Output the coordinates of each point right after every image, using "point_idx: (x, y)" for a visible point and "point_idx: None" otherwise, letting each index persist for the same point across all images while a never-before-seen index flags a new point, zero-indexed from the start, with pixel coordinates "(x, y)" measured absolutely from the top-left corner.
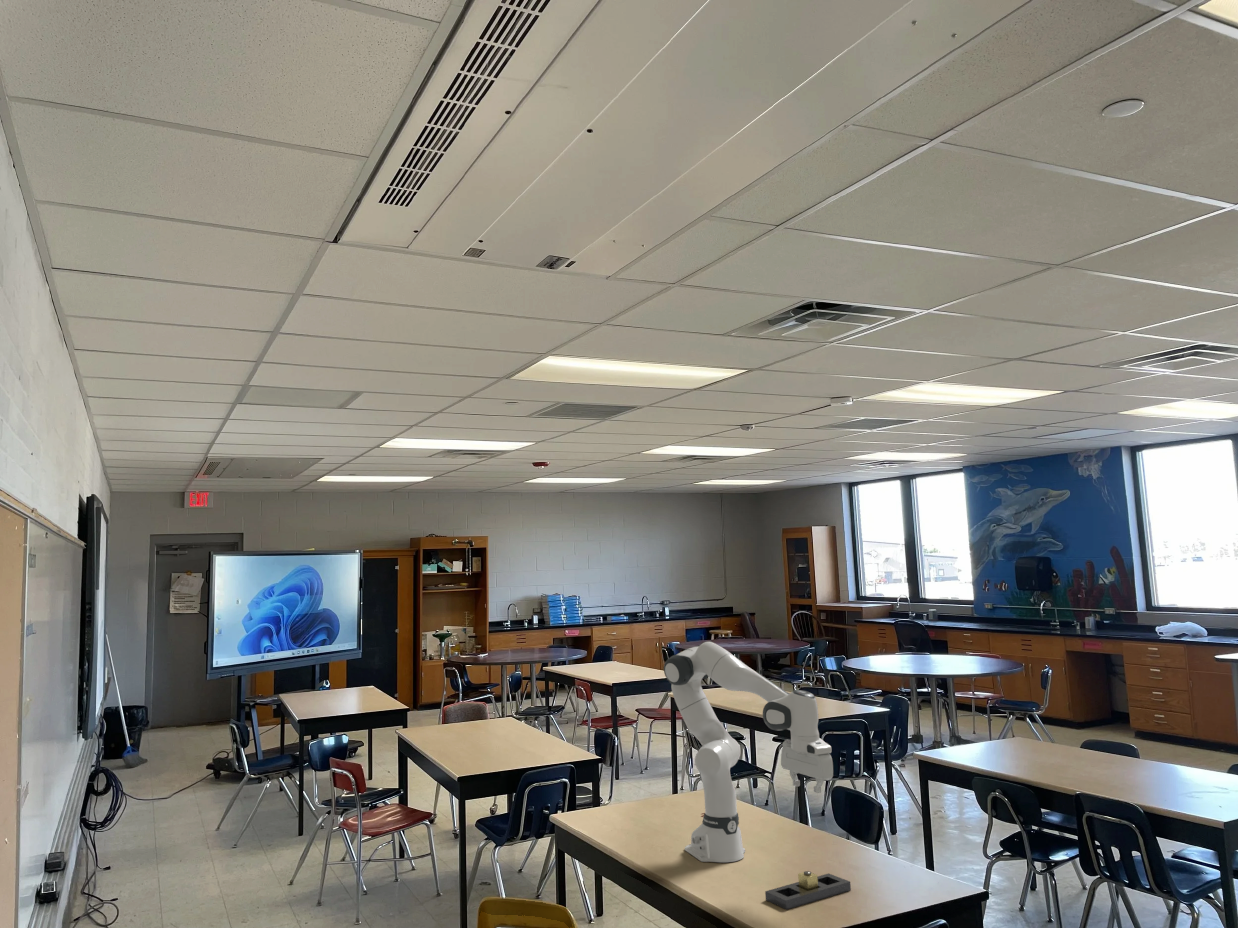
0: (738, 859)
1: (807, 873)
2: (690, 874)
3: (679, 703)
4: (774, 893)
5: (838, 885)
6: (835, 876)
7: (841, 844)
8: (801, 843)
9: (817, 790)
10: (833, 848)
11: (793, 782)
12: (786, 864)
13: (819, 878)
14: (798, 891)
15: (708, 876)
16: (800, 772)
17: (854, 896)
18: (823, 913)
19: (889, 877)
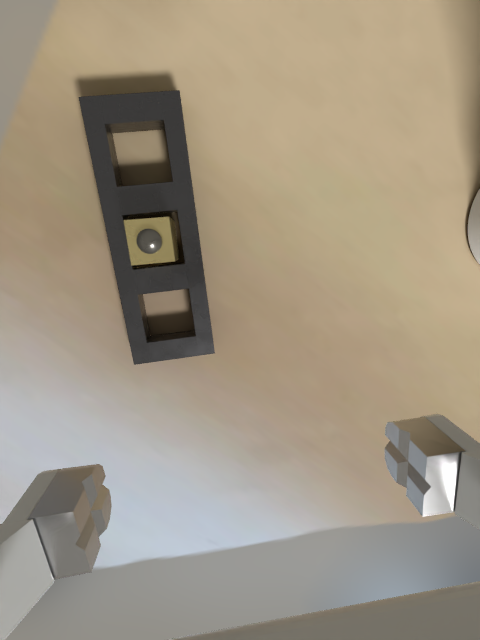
0: (469, 234)
1: (140, 234)
2: (473, 31)
3: None
4: (149, 105)
5: (126, 321)
6: (185, 354)
7: (397, 510)
8: None
9: (30, 492)
10: (388, 482)
11: (447, 430)
12: (371, 328)
13: (194, 308)
14: (131, 186)
15: (427, 73)
16: (355, 628)
17: (101, 340)
18: (26, 191)
19: (172, 480)
